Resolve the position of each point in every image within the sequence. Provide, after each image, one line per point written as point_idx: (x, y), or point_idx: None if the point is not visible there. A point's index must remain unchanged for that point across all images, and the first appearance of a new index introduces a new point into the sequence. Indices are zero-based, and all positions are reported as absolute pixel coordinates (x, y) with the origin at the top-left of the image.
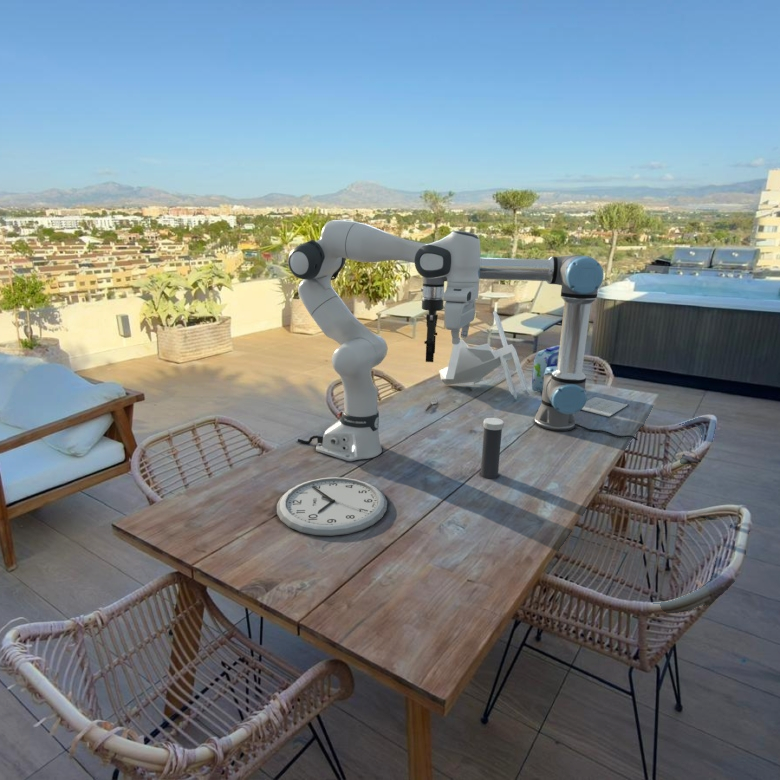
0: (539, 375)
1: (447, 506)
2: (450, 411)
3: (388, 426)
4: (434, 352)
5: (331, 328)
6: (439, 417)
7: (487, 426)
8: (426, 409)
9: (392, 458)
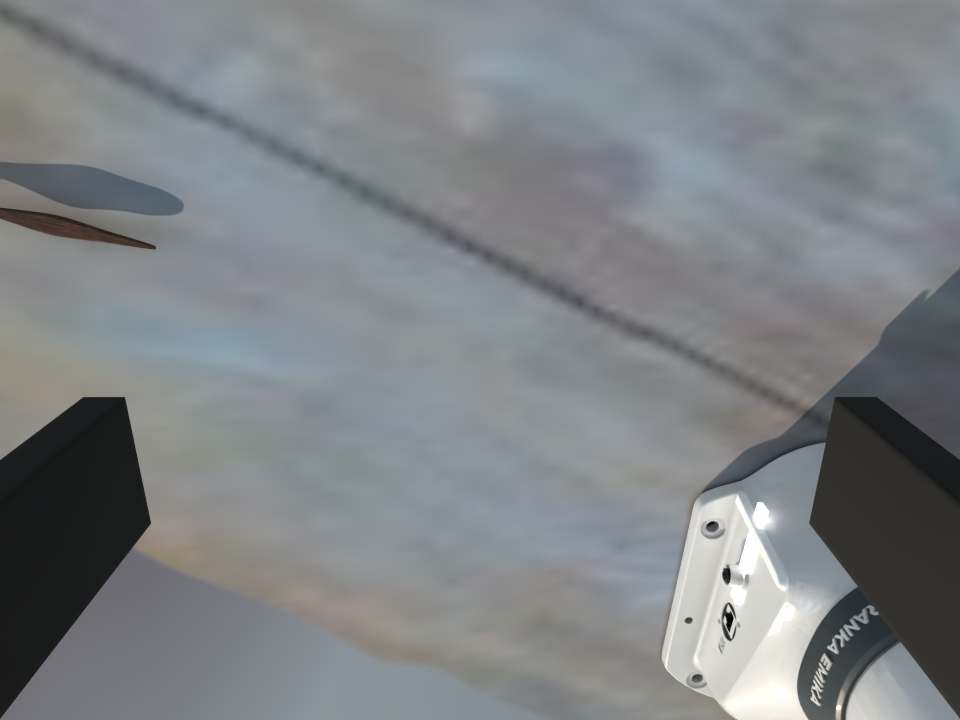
0: None
1: None
2: (69, 54)
3: (471, 447)
4: (115, 410)
5: None
6: (231, 140)
7: None
8: (132, 245)
9: (925, 379)
